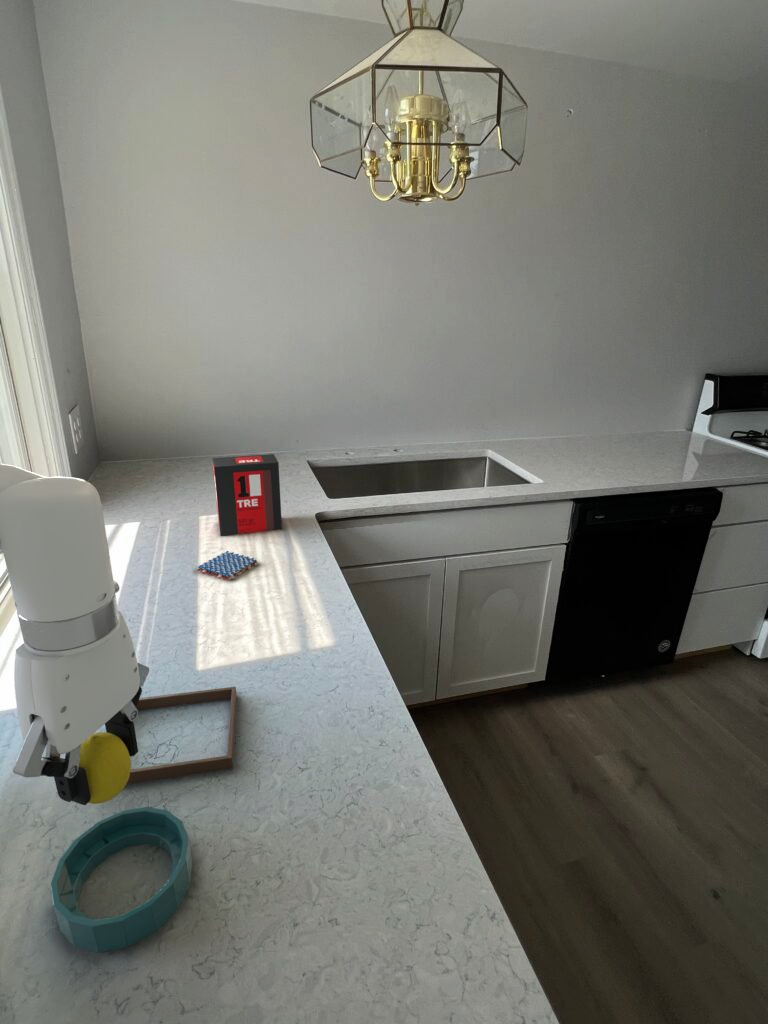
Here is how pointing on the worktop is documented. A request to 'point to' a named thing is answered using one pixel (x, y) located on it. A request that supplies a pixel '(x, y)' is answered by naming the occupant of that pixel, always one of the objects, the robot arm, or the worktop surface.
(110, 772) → the lemon
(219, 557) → the woven mat
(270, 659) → the worktop surface
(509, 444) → the worktop surface
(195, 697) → the brown wooden frame
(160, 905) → the teal ring
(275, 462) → the cleaning product box
